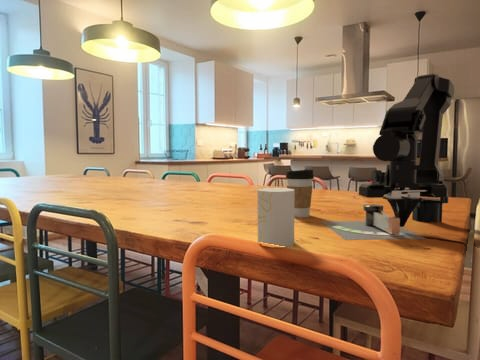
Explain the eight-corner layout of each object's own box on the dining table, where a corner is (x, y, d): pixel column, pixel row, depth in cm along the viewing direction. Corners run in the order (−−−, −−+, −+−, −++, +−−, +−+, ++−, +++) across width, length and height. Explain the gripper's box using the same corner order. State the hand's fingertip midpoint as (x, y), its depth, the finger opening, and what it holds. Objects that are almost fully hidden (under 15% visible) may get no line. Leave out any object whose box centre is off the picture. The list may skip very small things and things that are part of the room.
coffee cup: (313, 221, 100) (314, 170, 99) (284, 220, 102) (284, 170, 101) (313, 216, 108) (313, 169, 107) (286, 215, 110) (286, 168, 109)
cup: (255, 239, 80) (255, 188, 80) (289, 238, 81) (289, 187, 80) (260, 248, 72) (260, 192, 71) (298, 247, 73) (298, 191, 72)
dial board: (385, 224, 96) (385, 219, 96) (426, 242, 76) (426, 237, 76) (321, 225, 95) (321, 220, 95) (345, 244, 75) (345, 238, 75)
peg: (360, 223, 92) (360, 204, 91) (378, 223, 92) (378, 204, 92) (384, 236, 77) (385, 214, 77) (405, 236, 77) (406, 213, 77)
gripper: (422, 159, 89) (420, 219, 90) (351, 160, 88) (350, 220, 89) (450, 160, 77) (447, 228, 79) (369, 161, 77) (367, 229, 78)
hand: (401, 226), depth 81 cm, fingers closed
